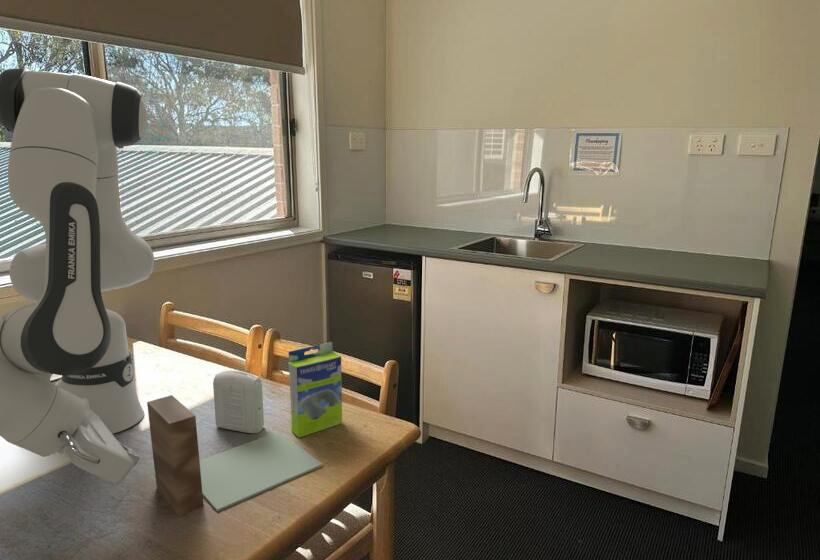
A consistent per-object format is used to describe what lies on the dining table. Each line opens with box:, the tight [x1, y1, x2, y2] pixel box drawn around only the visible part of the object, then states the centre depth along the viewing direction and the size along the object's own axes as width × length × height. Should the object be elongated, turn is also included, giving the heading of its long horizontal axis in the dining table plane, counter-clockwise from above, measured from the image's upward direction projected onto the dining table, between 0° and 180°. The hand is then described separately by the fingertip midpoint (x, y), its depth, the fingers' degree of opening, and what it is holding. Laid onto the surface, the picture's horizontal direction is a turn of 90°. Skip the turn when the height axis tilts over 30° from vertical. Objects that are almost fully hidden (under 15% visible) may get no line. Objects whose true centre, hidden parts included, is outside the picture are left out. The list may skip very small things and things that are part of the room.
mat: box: [199, 431, 323, 513], centre depth 102 cm, size 20×16×1 cm
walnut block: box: [146, 394, 204, 517], centre depth 92 cm, size 4×10×16 cm, turn 42°
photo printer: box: [212, 370, 265, 434], centre depth 116 cm, size 10×4×12 cm, turn 72°
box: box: [287, 341, 343, 438], centre depth 116 cm, size 10×4×17 cm, turn 128°
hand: (133, 459), depth 88 cm, fingers closed
